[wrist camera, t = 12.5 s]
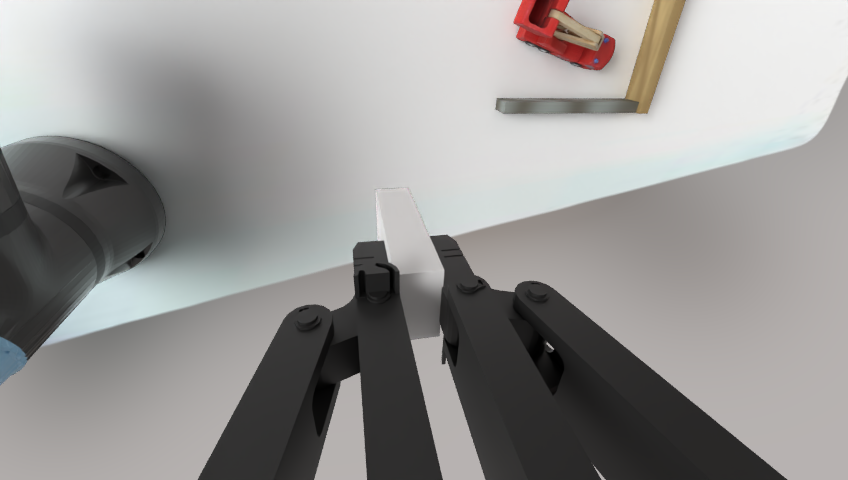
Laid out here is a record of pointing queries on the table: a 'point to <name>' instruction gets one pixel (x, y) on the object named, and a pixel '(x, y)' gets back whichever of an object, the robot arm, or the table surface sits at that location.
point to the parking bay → (642, 79)
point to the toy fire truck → (562, 34)
